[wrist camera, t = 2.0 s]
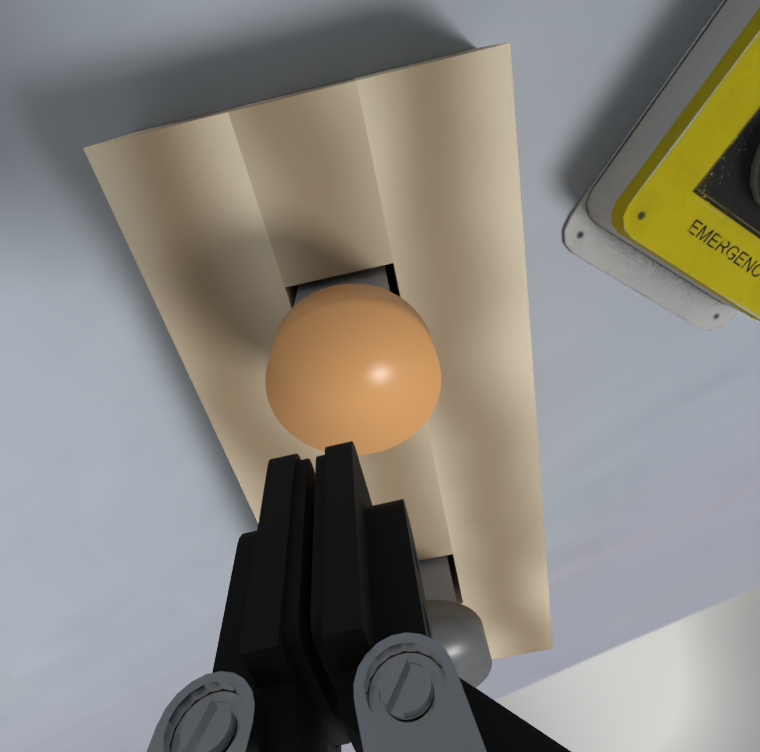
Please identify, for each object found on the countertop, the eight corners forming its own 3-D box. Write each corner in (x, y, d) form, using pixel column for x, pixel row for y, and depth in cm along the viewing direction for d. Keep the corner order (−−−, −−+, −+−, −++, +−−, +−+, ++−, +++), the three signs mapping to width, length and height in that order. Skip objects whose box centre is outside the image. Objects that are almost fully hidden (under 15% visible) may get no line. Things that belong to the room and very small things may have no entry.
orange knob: (403, 228, 18) (425, 286, 13) (426, 350, 20) (452, 436, 15) (266, 259, 18) (239, 327, 13) (305, 376, 20) (294, 469, 16)
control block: (476, 47, 17) (509, 42, 14) (529, 585, 32) (552, 648, 28) (132, 132, 18) (82, 147, 15) (335, 621, 32) (335, 688, 29)
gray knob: (458, 517, 25) (485, 623, 20) (470, 582, 27) (497, 690, 23) (359, 537, 25) (363, 646, 20) (380, 599, 28) (387, 710, 23)
